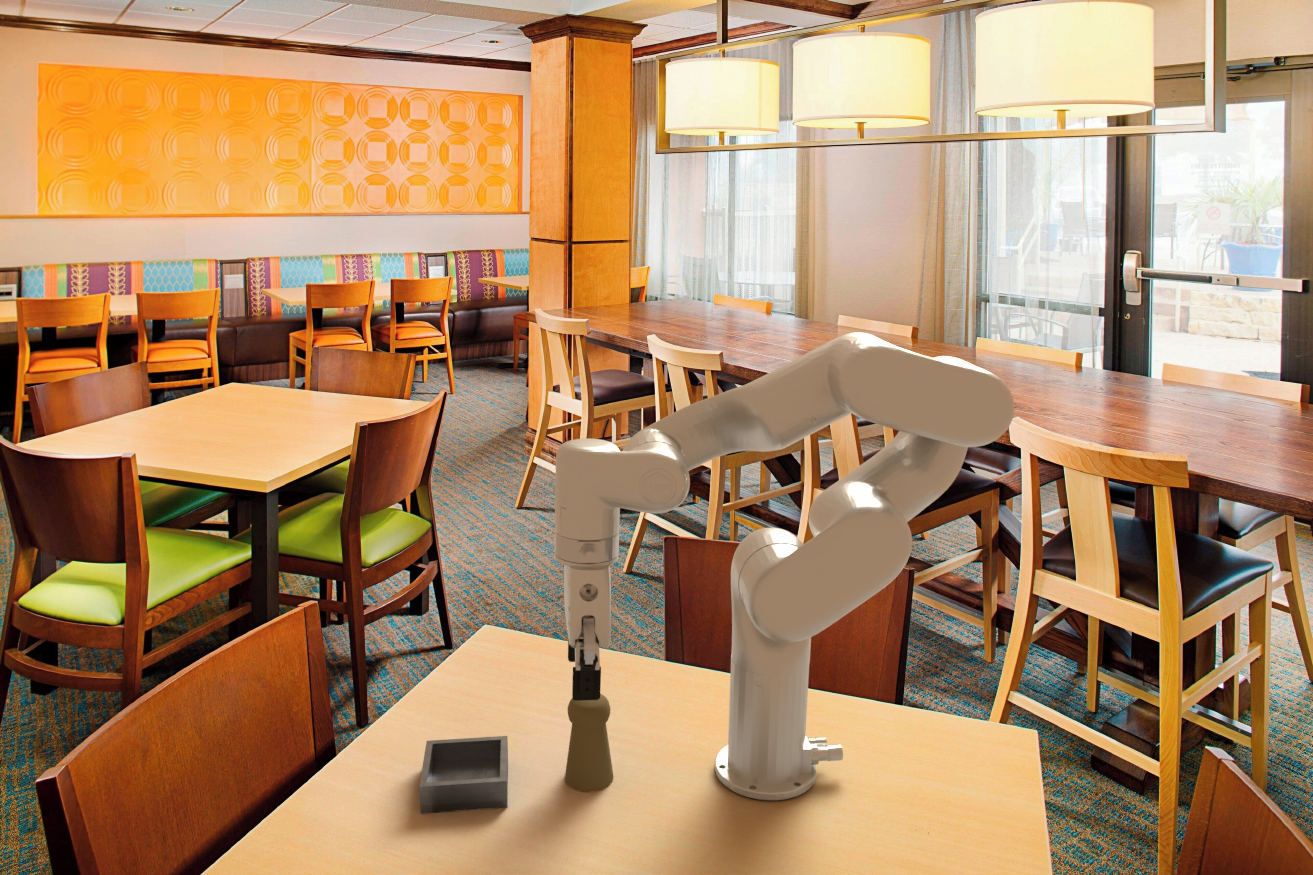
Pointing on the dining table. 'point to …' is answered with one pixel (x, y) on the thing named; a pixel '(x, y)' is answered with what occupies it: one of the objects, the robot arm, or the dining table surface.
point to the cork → (589, 746)
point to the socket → (464, 774)
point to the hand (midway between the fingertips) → (583, 679)
